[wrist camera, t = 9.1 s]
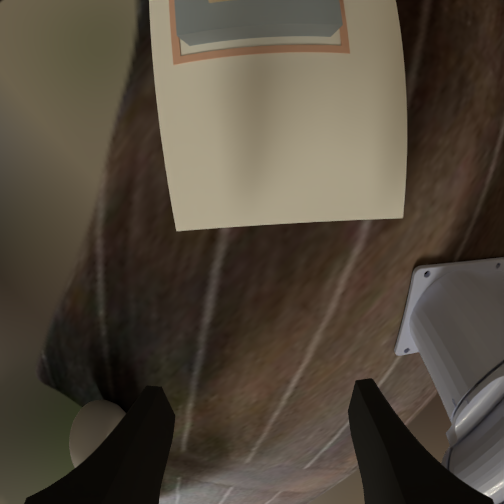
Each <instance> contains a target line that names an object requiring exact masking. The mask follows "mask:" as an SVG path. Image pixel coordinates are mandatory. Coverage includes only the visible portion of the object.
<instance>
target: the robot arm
mask: <svg viewBox="0 0 504 504" xmlns="http://www.w3.org/2000/svg"><path fill="white" fill-rule="evenodd" d="M426 271H428V272H427V273H426V274H425V275H424V273H425V272H426ZM394 351H395V354H396V355H405V354H411V353H416V352H419V353H420V355H421V357H422V359H423V361H424V363H425V365H426V367H427V369H428V371H429V373H430V375H431V378H432V380H433V382H434V384H435V386H436V388H437V391H438V393H439V395H440V397H441V399H442V402H443V404H444V406H445V409H446V411H447V414H448V416H449V418H450V421H451V423H452V426H451V427H450V429H449V430H448V431H447V432H446V435H447V438H448V441H449V444H450V446H449V448H448V449H447V451H446V452H445V454H444V457H443V460H442V463H440V462H438V461H437V460H436V459H435V458H434V457H433V456H432V455H431V454H430V453H429V452H428V451H427V450H426V449H425V448H424V447H423V446H422V445H421V444H420V443H419V441H418V440H417V439H416V438H415V437H414V436H413V434H412V433H411V432H410V431H409V430H408V428H407V427H406V426H405V425H404V423H403V422H402V421H401V419H400V418H399V417H398V415H397V414H396V413H395V411H394V410H393V409H392V407H391V406H390V404H389V403H388V401H387V400H386V399H385V397H384V396H383V394H382V393H381V391H380V389H379V388H378V386H377V385H376V383H375V382H374V380H373V379H372V378H370V379H363V380H356V381H355V386H354V390H353V394H352V397H351V401H350V405H349V409H348V415H349V423H350V430H351V436H352V440H353V444H354V449H355V453H356V457H357V461H358V465H359V469H360V473H361V478H362V483H363V489H364V499H365V504H504V257H500V258H491V259H482V260H472V261H463V262H453V263H443V264H432V265H421V266H418V267H416V268H415V269H414V271H413V274H412V279H411V284H410V289H409V294H408V298H407V303H406V307H405V311H404V315H403V319H402V323H401V327H400V331H399V335H398V338H397V342H396V345H395V349H394ZM174 423H175V414H174V412H173V410H172V408H171V406H170V404H169V402H168V400H167V397H166V395H165V393H164V391H163V389H162V387H158V386H146V387H145V389H144V390H143V391H142V393H141V394H140V395H139V397H138V398H137V400H136V401H135V402H134V404H133V405H132V406H131V408H130V409H129V410H128V412H127V413H126V414H125V416H124V417H123V418H122V419H121V421H120V422H119V423H118V425H117V426H116V427H115V428H114V430H113V431H112V432H111V433H110V434H109V435H108V436H107V438H106V439H105V440H104V441H103V442H102V443H101V444H100V445H99V446H98V448H97V449H96V450H95V451H94V452H93V453H92V454H91V455H89V456H88V457H87V458H86V459H85V460H84V461H83V462H82V463H81V464H79V465H78V466H77V467H76V468H75V469H74V470H72V471H71V472H70V473H69V474H67V475H66V476H64V477H63V478H61V479H60V480H58V481H57V482H55V483H54V484H52V485H51V486H49V487H47V488H45V489H43V490H42V491H40V492H38V493H36V494H34V495H32V496H30V497H27V498H26V501H25V503H24V504H159V495H160V488H161V483H162V479H163V475H164V471H165V467H166V463H167V459H168V455H169V451H170V447H171V443H172V439H173V432H174Z"/></svg>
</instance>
